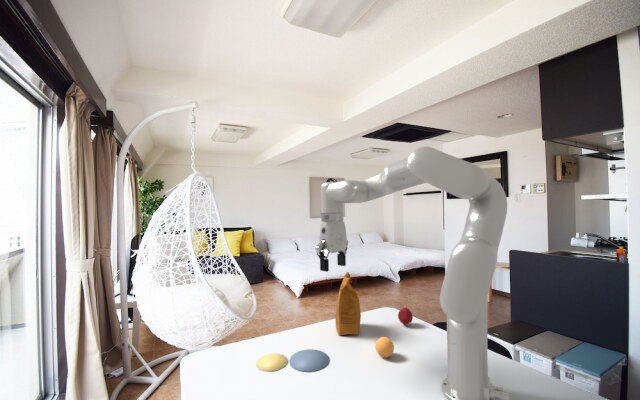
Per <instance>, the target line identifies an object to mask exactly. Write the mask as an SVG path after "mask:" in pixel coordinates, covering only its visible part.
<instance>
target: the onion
mask: <svg viewBox="0 0 640 400" xmlns="http://www.w3.org/2000/svg"><path fill="white" fill-rule="evenodd" d="M397 318H398V320H399V322H400V323H401V324H402V325H404V326H408V325H410V324H411V323H412V321H413V318H414V317H413V313H412V311H411V310H410V309H409V308H407V306H406V305H404V306H403V308H401V309H399V311H398V314H397Z"/></svg>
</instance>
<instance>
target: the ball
mask: <svg viewBox="0 0 640 400" xmlns="http://www.w3.org/2000/svg"><path fill="white" fill-rule="evenodd" d="M375 350H376V352H377V354H378V355H379V356H380V357H383V358H389V357H390V356H392V355H393V353H394V350H395V347H394V343H393V341H392V340H391V339H390V338H389V337H386V336H381V337H379V338H377V340H376V342H375Z"/></svg>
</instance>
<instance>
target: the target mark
mask: <svg viewBox="0 0 640 400" xmlns="http://www.w3.org/2000/svg"><path fill="white" fill-rule="evenodd" d="M288 362H289V366H291V367H292V368H293V369H294V370H295V371H298V372H303V373H314V372H318V371H321V370H323V369H325V368H326V367H327V366H328V365H330V364H329V363H330V356H329V354H327V353H326V352H324V351H322V350H319V349H310V348H309V349H302V350H299V351H296V352H294V354H292V355H291V356H290V358H289V360H288Z"/></svg>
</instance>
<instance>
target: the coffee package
mask: <svg viewBox="0 0 640 400" xmlns="http://www.w3.org/2000/svg"><path fill="white" fill-rule="evenodd" d="M350 277H351V274H350V272H348V271H347V272H345V275H344V277H343V279H342V282H341V284H340V287H339V292H338V296H337V301H336V304H335V329H336V332H337V334H338V335H339V336H345V335H358V334H360V330H361V307H360V306H361V305H360V303H361V302H360V298H359V295H358V294H357V293H356V290H355V289H354V287H353V286H352V284H351V283H353V279H351V278H350Z"/></svg>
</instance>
